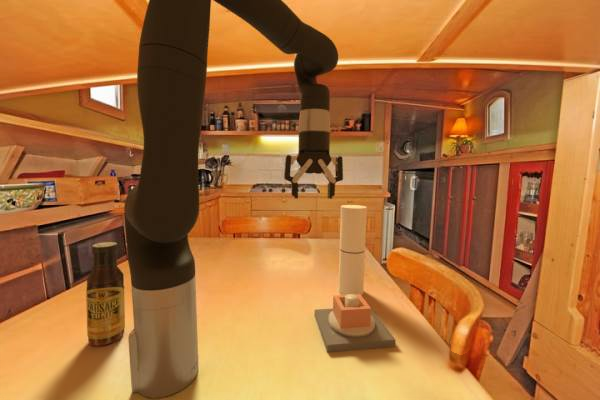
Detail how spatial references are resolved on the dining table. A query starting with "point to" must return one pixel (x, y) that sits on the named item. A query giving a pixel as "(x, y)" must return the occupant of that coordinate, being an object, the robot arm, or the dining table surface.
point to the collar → (351, 313)
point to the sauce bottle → (105, 296)
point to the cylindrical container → (352, 249)
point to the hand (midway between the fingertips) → (313, 198)
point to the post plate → (352, 331)
